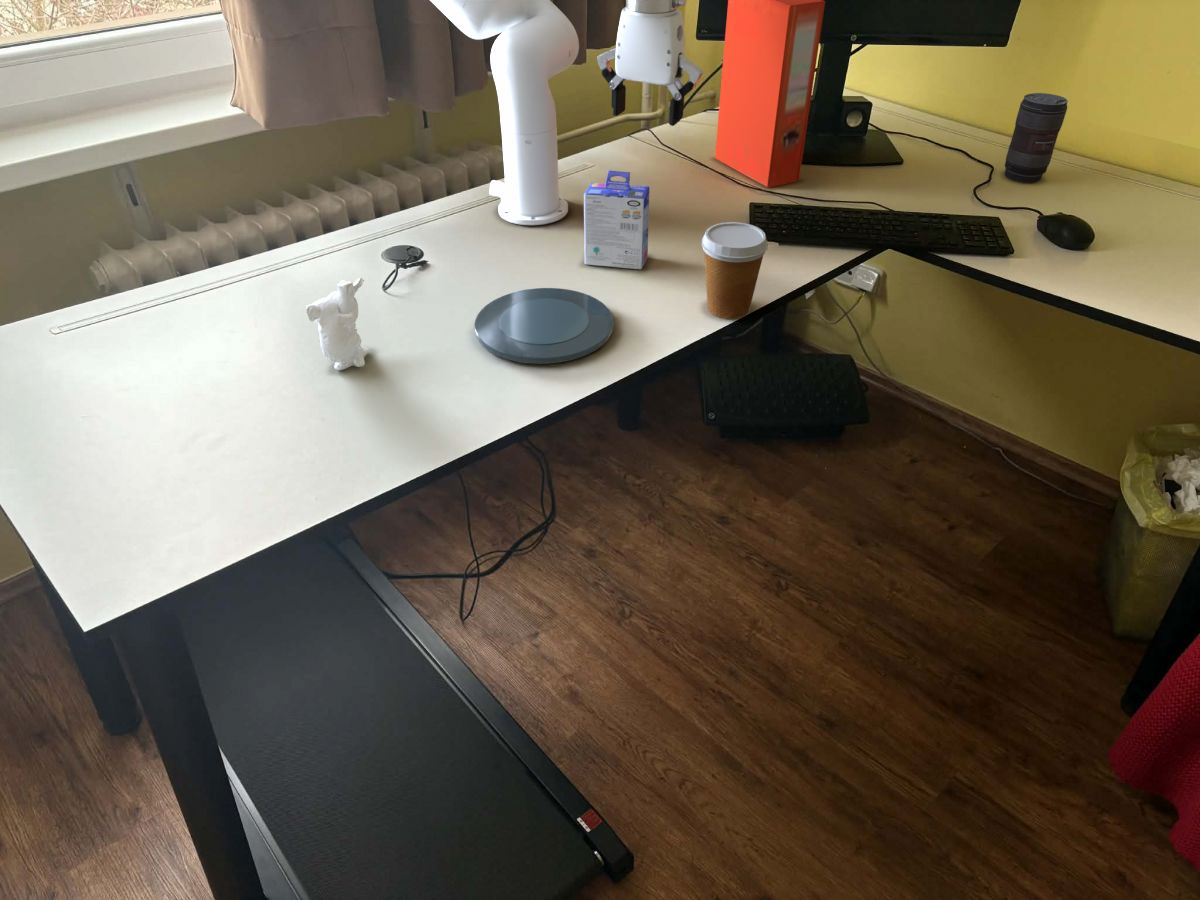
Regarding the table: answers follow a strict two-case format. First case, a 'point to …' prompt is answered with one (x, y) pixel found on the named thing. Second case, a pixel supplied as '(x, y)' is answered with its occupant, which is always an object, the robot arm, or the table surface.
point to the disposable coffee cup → (732, 267)
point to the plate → (543, 325)
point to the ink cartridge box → (616, 223)
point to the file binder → (767, 86)
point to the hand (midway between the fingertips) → (646, 118)
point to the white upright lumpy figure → (339, 326)
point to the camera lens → (1034, 136)
